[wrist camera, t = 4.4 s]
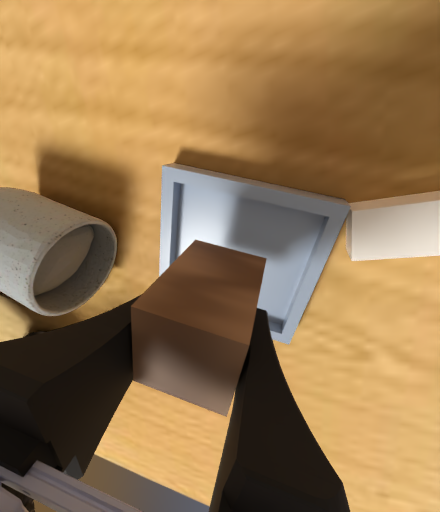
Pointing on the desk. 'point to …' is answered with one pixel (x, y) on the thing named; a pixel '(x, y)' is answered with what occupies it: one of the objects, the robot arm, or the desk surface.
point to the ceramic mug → (51, 252)
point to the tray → (254, 232)
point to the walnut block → (197, 325)
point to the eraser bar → (394, 227)
